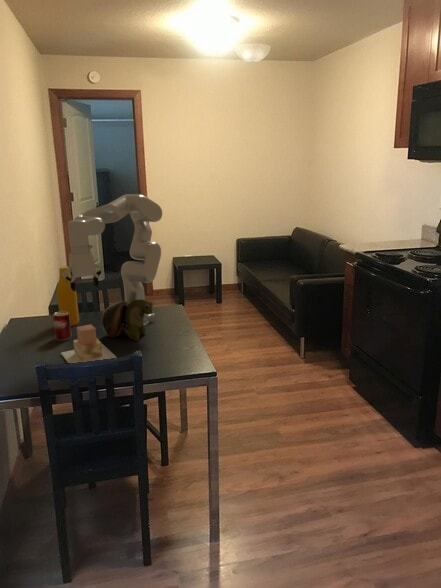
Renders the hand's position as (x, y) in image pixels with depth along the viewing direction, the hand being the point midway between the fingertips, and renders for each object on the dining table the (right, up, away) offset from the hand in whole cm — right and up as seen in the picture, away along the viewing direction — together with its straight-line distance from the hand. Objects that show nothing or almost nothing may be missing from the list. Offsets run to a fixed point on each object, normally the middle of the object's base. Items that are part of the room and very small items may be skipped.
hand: (85, 288), depth 205 cm
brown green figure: (+16, -22, +17) cm, 32 cm away
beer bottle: (-18, -17, +36) cm, 43 cm away
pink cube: (+3, -22, -7) cm, 23 cm away
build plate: (+3, -29, -5) cm, 29 cm away
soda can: (-14, -23, +16) cm, 32 cm away
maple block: (+3, -28, -6) cm, 29 cm away
